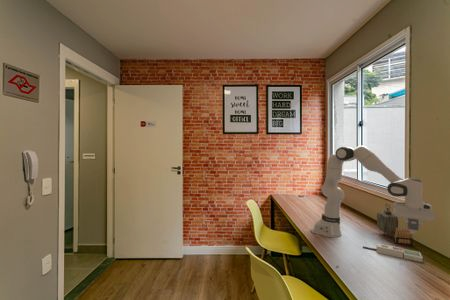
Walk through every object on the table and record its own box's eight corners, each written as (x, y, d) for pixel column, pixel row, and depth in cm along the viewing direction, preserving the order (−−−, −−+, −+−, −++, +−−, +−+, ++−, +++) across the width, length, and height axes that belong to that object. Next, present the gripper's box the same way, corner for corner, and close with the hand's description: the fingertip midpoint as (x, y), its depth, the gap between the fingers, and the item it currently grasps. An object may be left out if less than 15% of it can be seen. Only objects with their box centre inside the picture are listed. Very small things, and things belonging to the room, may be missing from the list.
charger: (408, 233, 147) (408, 219, 146) (407, 230, 151) (407, 217, 150) (418, 235, 144) (418, 221, 144) (416, 232, 148) (417, 218, 148)
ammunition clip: (395, 243, 167) (396, 227, 167) (394, 242, 169) (394, 226, 169) (413, 245, 165) (413, 229, 164) (411, 244, 166) (412, 228, 166)
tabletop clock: (397, 239, 174) (398, 207, 173) (384, 238, 176) (385, 206, 175) (388, 232, 188) (389, 202, 188) (376, 231, 190) (376, 201, 189)
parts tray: (404, 258, 146) (404, 254, 146) (402, 252, 154) (402, 248, 154) (422, 262, 142) (422, 258, 142) (419, 256, 149) (419, 252, 149)
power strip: (362, 249, 159) (362, 242, 159) (362, 246, 164) (363, 239, 164) (402, 257, 147) (403, 250, 147) (401, 254, 152) (401, 247, 152)
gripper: (393, 202, 149) (393, 223, 150) (435, 207, 139) (435, 229, 139) (392, 200, 155) (392, 220, 155) (433, 204, 144) (432, 226, 145)
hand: (412, 225), depth 147 cm, fingers closed on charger, 5 cm apart
